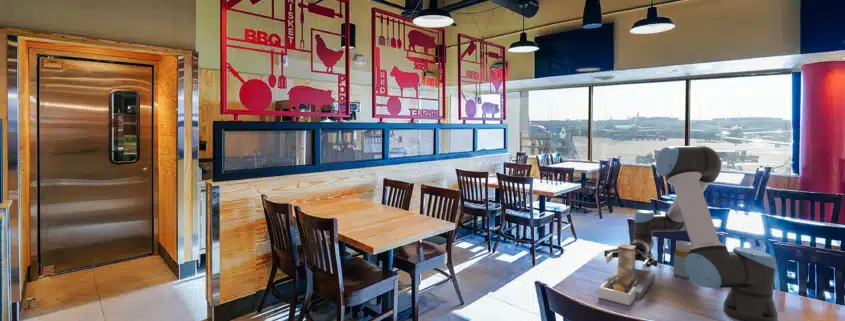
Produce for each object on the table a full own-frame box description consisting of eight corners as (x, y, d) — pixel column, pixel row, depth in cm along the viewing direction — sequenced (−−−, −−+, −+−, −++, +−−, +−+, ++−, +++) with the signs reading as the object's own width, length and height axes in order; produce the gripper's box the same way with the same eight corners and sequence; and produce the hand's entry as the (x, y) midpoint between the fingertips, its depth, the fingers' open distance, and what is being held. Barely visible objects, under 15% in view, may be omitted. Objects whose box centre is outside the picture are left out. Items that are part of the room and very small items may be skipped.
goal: (635, 298, 162) (636, 287, 161) (629, 306, 155) (629, 294, 154) (605, 290, 169) (606, 280, 168) (598, 298, 162) (599, 287, 161)
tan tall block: (634, 281, 171) (636, 245, 169) (629, 288, 165) (630, 251, 163) (620, 278, 174) (621, 243, 173) (614, 284, 168) (616, 248, 166)
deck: (654, 278, 181) (654, 272, 181) (639, 298, 161) (640, 292, 161) (620, 270, 190) (620, 265, 189) (602, 289, 170) (602, 283, 170)
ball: (623, 289, 160) (623, 298, 161) (625, 284, 163) (625, 294, 164) (612, 286, 163) (612, 295, 164) (615, 282, 166) (615, 291, 166)
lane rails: (644, 274, 179) (644, 271, 178) (632, 290, 163) (632, 287, 162) (624, 270, 184) (624, 267, 184) (609, 285, 168) (609, 282, 168)
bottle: (669, 274, 184) (671, 241, 183) (680, 272, 187) (681, 239, 186) (685, 280, 178) (687, 246, 176) (695, 277, 181) (697, 244, 179)
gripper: (669, 264, 177) (659, 279, 161) (607, 252, 193) (592, 265, 177) (670, 247, 176) (660, 260, 160) (608, 236, 192) (593, 248, 176)
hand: (624, 263), depth 168 cm, fingers open, 13 cm apart
